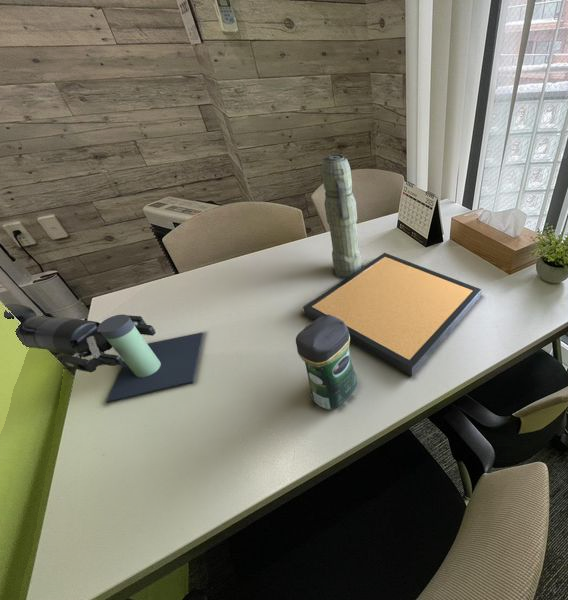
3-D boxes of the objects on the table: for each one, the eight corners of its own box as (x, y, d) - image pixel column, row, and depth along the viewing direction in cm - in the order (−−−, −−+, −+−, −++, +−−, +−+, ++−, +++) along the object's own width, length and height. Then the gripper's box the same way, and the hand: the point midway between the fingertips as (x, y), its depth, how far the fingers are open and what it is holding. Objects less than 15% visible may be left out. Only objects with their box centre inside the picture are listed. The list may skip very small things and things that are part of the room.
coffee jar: (336, 368, 74) (323, 305, 62) (363, 383, 71) (355, 320, 59) (304, 398, 68) (284, 335, 56) (333, 417, 64) (317, 354, 53)
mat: (107, 403, 67) (106, 401, 67) (131, 348, 79) (129, 347, 78) (193, 382, 71) (192, 381, 70) (203, 333, 83) (202, 332, 82)
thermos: (342, 283, 100) (325, 165, 78) (329, 265, 108) (311, 153, 86) (368, 275, 103) (359, 160, 81) (354, 258, 111) (342, 149, 89)
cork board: (411, 376, 72) (480, 297, 94) (412, 368, 70) (481, 289, 92) (304, 314, 88) (384, 259, 111) (302, 306, 87) (384, 252, 109)
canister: (140, 381, 70) (103, 335, 62) (130, 370, 73) (93, 324, 64) (165, 366, 74) (133, 320, 65) (155, 356, 76) (123, 311, 67)
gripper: (24, 348, 62) (97, 358, 60) (91, 302, 73) (154, 309, 71) (51, 373, 67) (119, 383, 65) (110, 326, 78) (170, 334, 76)
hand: (137, 345), depth 68 cm, fingers open, 8 cm apart
